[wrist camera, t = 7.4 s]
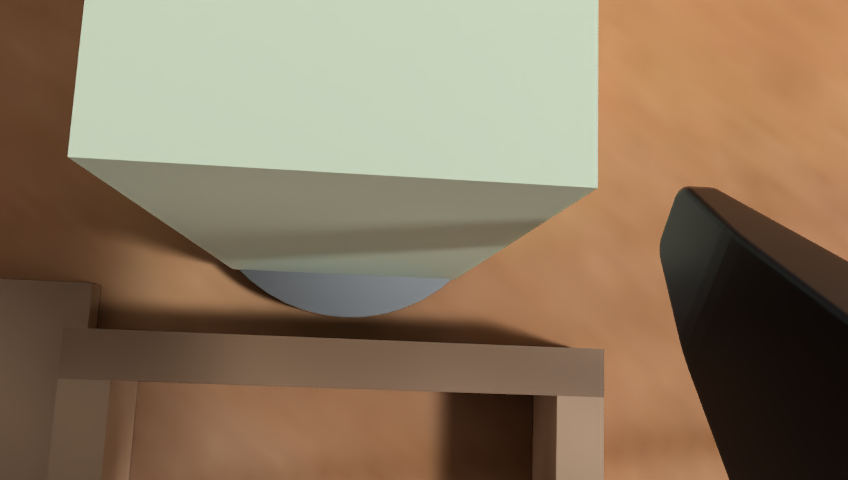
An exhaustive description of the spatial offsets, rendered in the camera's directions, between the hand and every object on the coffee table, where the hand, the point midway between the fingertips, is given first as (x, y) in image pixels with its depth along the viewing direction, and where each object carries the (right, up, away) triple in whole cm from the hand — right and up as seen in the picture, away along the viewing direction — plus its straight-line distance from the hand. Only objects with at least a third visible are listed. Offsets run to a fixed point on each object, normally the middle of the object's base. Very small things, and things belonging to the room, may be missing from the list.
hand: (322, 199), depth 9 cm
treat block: (0, +1, +8) cm, 8 cm away
